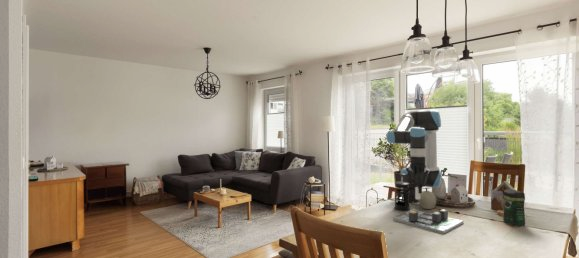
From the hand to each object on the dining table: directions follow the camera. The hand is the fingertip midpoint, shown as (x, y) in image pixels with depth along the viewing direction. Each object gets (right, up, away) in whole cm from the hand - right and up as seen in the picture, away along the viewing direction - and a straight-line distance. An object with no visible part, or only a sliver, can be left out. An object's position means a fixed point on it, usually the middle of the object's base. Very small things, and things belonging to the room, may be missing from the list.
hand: (417, 198), depth 164 cm
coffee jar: (+52, -14, -1) cm, 54 cm away
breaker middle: (+10, -13, 0) cm, 16 cm away
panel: (+7, -14, +4) cm, 16 cm away
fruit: (+19, -14, +30) cm, 38 cm away
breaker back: (+17, -12, +5) cm, 21 cm away
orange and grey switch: (-2, -13, +2) cm, 13 cm away
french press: (+3, -14, +29) cm, 32 cm away
